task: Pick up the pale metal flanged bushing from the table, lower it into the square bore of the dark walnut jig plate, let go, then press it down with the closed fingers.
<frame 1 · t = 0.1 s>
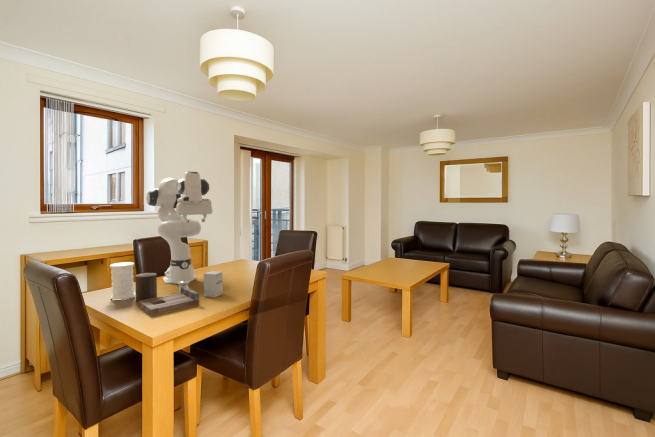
hand: (195, 222, 194), 39 cm above the table, tool pointing down, fingers open, 8 cm apart
jig: (169, 306, 164), on the table
pillar candle: (146, 301, 172), on the table
decorative container: (123, 297, 178), on the table
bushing: (184, 295, 180), on the table
supplement box: (213, 295, 182), on the table
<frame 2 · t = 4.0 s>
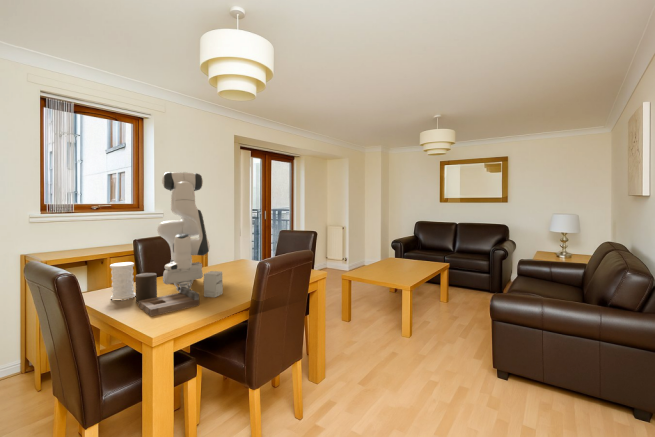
hand: (183, 289, 180), 4 cm above the table, tool pointing down, fingers closed on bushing, 4 cm apart
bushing: (184, 295, 180), on the table, touching gripper
everything else where it was.
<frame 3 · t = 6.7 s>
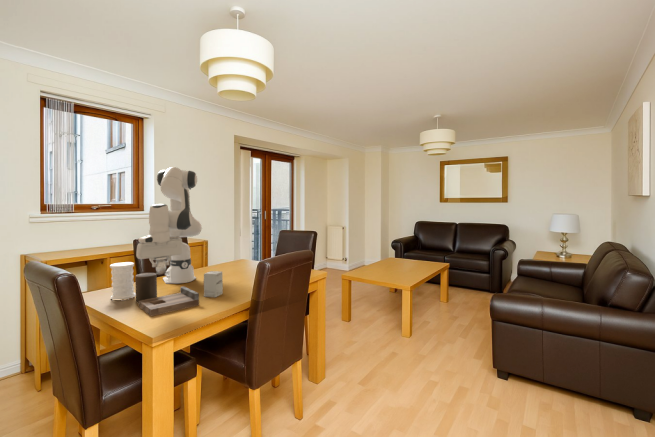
hand: (160, 266, 161), 20 cm above the table, tool pointing down, fingers closed on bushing, 4 cm apart
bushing: (161, 273, 161), point 17 cm above the table, touching gripper
everything else where it was.
when the fingers open (5 cm above the table, at t = 9.5 s): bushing stays where it is, resting in jig.
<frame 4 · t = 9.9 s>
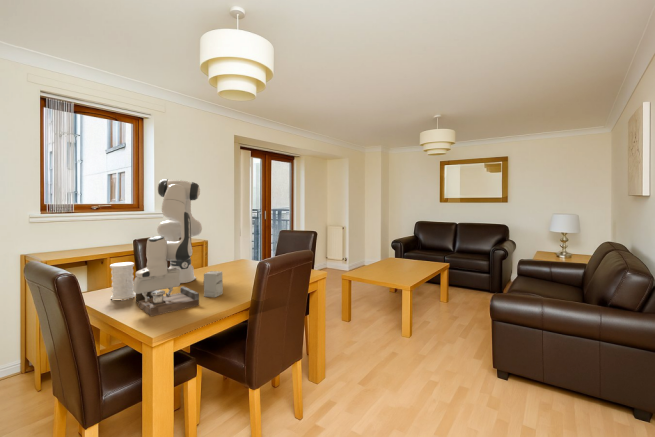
hand: (158, 299, 160), 5 cm above the table, tool pointing down, fingers open, 8 cm apart
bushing: (158, 308, 160), resting in jig
everything else where it was.
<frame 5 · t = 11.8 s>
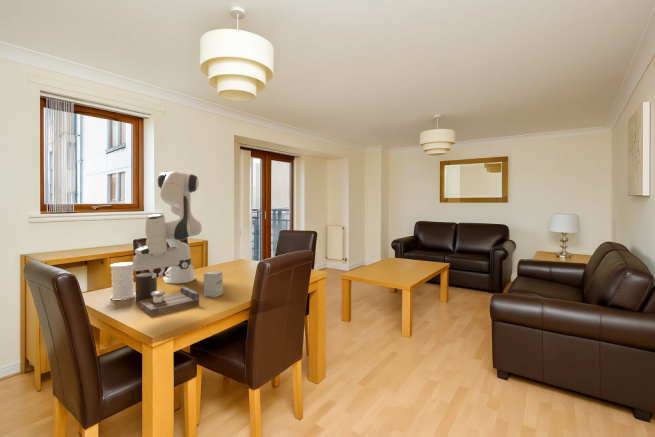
hand: (157, 277, 159), 15 cm above the table, tool pointing down, fingers closed
nothing on the table moved.
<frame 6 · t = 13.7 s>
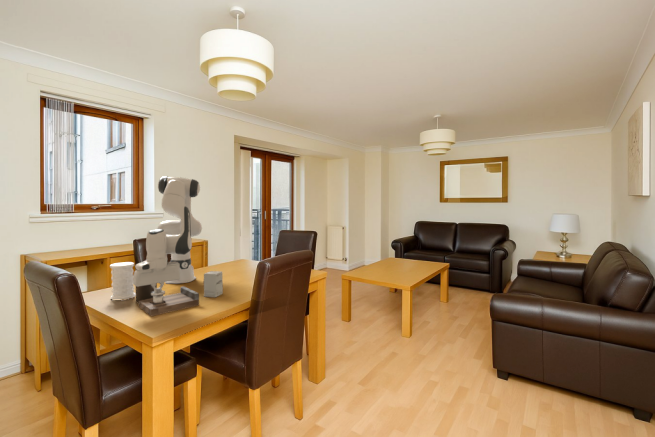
hand: (157, 292, 160), 8 cm above the table, tool pointing down, fingers closed, pressing on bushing
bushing: (158, 308, 160), resting in jig, touching gripper
everything else where it was.
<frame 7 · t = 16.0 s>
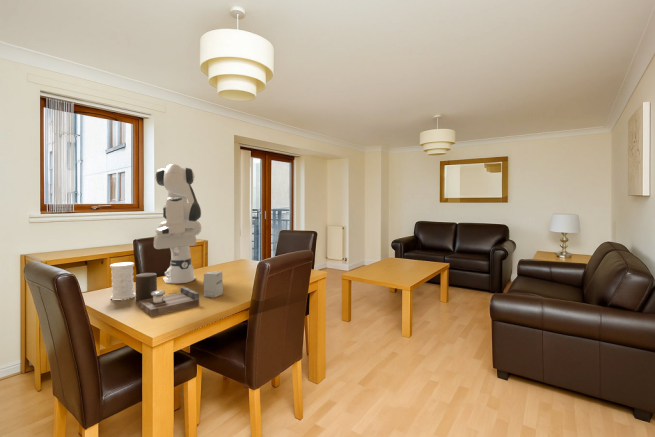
hand: (176, 255, 171), 23 cm above the table, tool pointing down, fingers closed
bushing: (158, 308, 160), resting in jig
everything else where it was.
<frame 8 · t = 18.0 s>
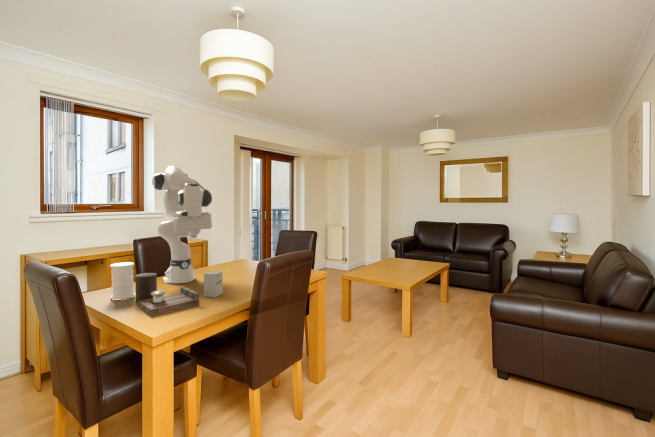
hand: (193, 237, 183), 31 cm above the table, tool pointing down, fingers closed
nothing on the table moved.
at the end: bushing 0.1 cm from the target spot on the jig, point 0.0 cm above the jig's base; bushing tilted 0°; the gripper is holding nothing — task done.
